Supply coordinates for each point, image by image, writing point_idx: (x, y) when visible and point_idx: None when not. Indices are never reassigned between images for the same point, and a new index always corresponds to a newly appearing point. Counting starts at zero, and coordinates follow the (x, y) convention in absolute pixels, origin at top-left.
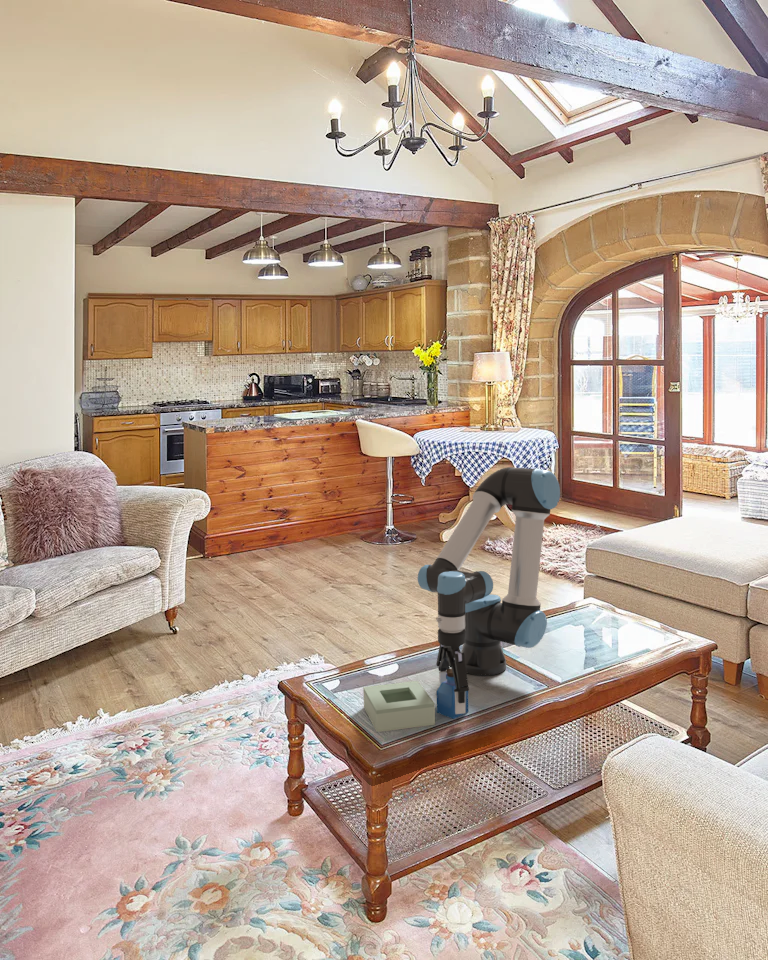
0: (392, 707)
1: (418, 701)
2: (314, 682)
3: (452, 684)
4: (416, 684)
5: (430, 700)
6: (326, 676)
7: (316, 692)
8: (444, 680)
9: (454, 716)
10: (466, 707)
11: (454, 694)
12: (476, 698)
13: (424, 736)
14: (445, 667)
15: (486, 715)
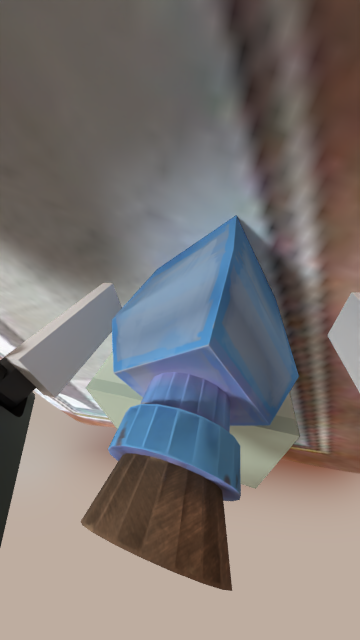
0: (257, 477)
1: (251, 447)
2: (72, 409)
3: (230, 413)
4: (115, 400)
5: (263, 431)
6: (50, 397)
7: (101, 418)
8: (79, 341)
9: (276, 303)
10: (242, 235)
11: (291, 380)
12: (78, 99)
13: (335, 399)
14: (2, 412)
15: (347, 83)
